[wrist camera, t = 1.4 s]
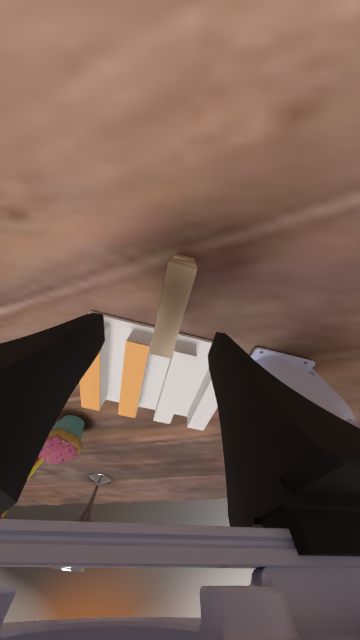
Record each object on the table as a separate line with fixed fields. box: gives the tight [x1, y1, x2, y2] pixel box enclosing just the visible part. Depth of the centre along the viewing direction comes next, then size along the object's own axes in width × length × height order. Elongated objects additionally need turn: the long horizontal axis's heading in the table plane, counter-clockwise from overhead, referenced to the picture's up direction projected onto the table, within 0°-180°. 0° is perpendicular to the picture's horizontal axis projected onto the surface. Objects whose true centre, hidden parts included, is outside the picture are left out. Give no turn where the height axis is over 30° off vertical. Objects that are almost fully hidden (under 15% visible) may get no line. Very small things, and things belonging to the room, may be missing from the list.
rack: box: [80, 311, 218, 431], centre depth 24 cm, size 22×18×3 cm
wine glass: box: [51, 474, 111, 572], centre depth 41 cm, size 8×8×15 cm
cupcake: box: [27, 415, 85, 480], centre depth 28 cm, size 9×8×12 cm
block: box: [149, 254, 198, 359], centre depth 15 cm, size 2×8×8 cm, turn 165°
